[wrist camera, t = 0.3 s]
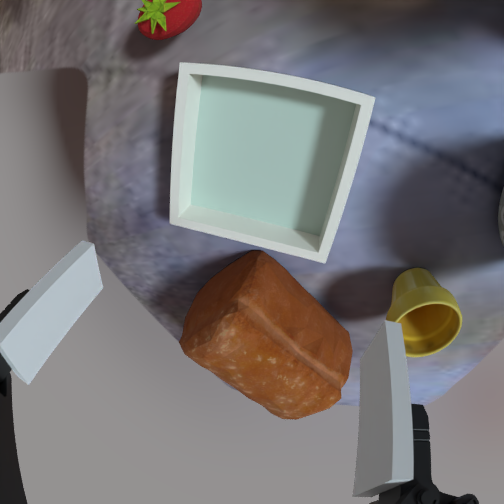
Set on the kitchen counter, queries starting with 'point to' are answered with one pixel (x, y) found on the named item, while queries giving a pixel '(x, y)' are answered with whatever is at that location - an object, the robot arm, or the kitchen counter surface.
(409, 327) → the plant pot
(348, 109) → the serving bin
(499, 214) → the planter
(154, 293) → the kitchen counter surface
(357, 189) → the kitchen counter surface
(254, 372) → the bread
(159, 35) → the strawberry
